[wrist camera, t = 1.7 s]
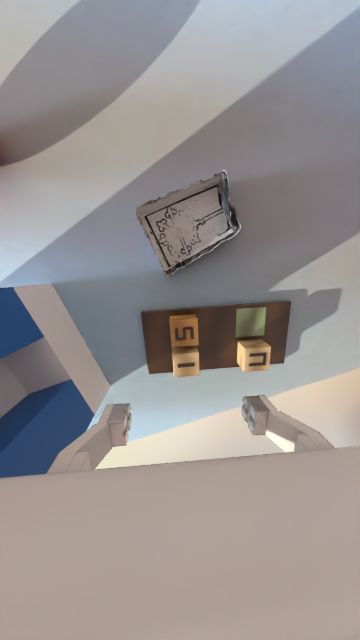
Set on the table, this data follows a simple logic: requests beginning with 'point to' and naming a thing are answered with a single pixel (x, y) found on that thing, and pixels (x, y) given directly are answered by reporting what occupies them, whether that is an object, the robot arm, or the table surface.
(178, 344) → the letter s tile
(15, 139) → the table surface
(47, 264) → the table surface
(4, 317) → the toy block
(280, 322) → the letter board
